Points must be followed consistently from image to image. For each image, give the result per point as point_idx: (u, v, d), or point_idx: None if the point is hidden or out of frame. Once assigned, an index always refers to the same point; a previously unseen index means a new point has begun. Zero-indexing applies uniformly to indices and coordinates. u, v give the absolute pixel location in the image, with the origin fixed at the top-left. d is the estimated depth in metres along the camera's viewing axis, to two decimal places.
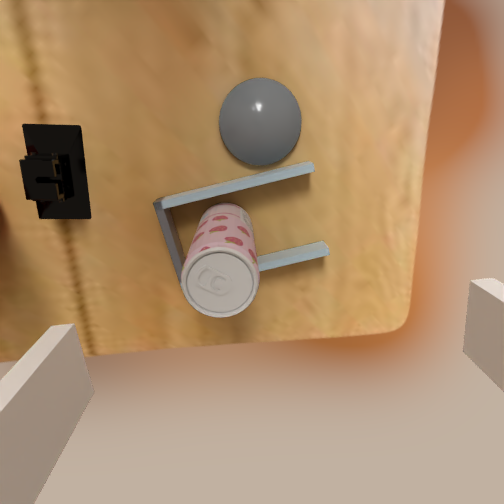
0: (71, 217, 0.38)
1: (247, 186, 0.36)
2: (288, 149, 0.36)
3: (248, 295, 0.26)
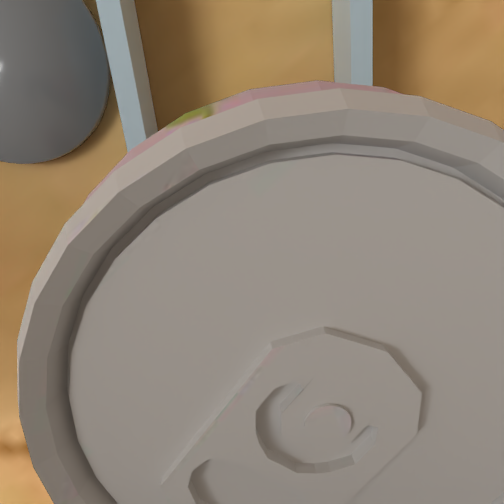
0: None
1: (137, 115, 0.14)
2: None
3: (493, 208, 0.03)
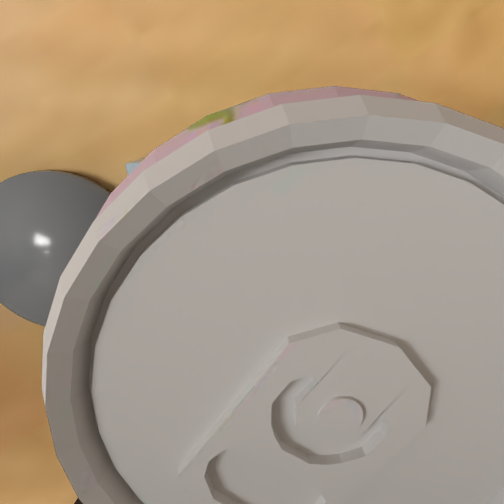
0: None
1: None
2: None
3: (503, 210, 0.03)
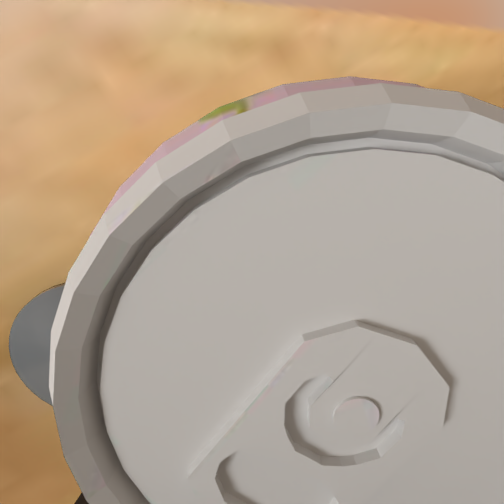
0: None
1: None
2: None
3: None
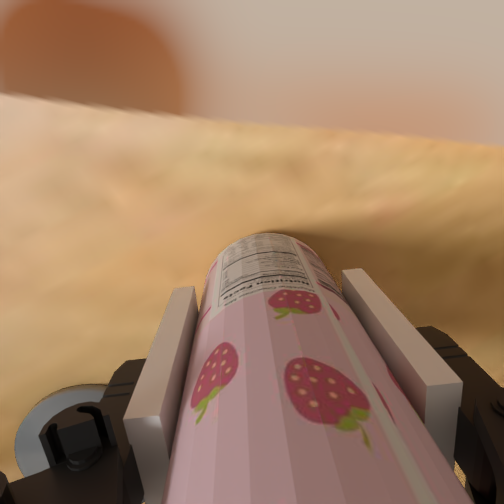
0: None
1: None
2: None
3: None
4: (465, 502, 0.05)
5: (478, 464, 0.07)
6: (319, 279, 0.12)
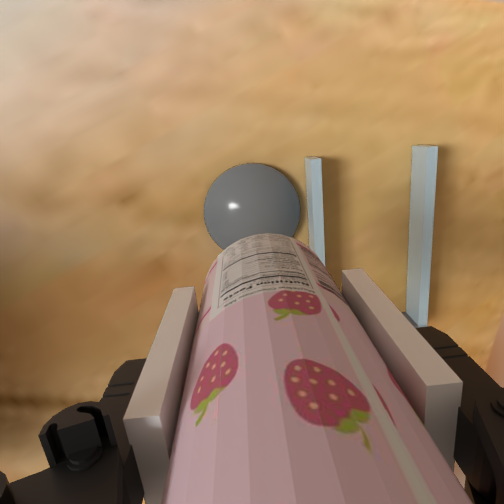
0: None
1: (322, 243, 0.29)
2: (287, 183, 0.30)
3: None
4: None
5: (478, 464, 0.07)
6: (319, 280, 0.12)
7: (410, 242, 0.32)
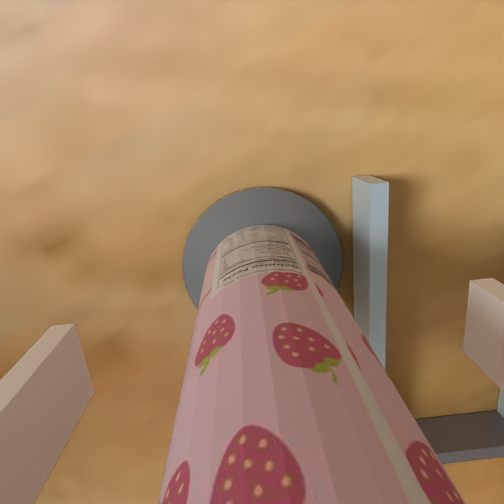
0: None
1: (382, 323, 0.17)
2: (322, 220, 0.18)
3: None
4: (411, 426, 0.07)
5: None
6: (307, 264, 0.13)
7: None
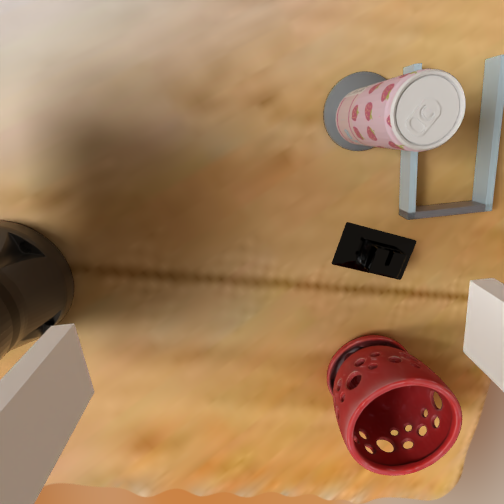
0: (409, 255, 0.46)
1: None
2: None
3: (449, 83, 0.25)
4: None
5: None
6: None
7: (479, 139, 0.41)
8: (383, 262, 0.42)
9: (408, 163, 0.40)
